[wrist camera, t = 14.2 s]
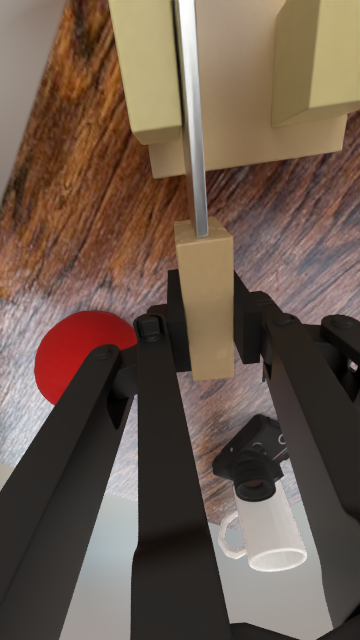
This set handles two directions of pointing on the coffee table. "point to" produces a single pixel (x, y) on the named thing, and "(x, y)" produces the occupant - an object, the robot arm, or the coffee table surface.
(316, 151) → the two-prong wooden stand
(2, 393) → the coffee table surface
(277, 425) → the film camera
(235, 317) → the robot arm
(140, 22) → the butter slice
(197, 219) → the knife
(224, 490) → the coffee table surface
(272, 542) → the mug
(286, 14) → the butter block
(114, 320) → the fruit
